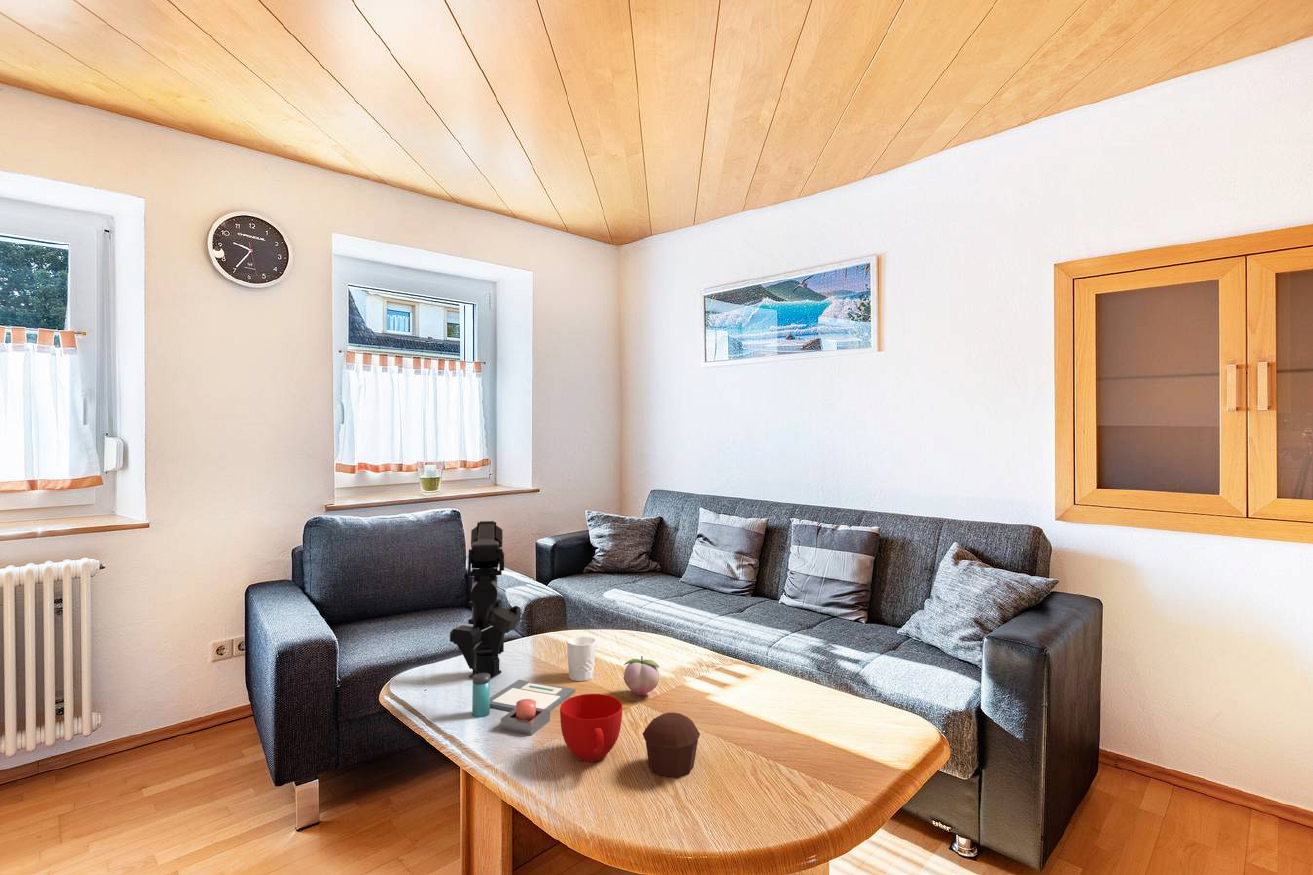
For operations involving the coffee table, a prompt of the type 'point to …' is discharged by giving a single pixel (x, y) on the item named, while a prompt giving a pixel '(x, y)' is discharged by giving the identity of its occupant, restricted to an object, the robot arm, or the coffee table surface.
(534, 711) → the button
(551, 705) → the drawing board
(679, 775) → the muffin
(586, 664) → the white cup
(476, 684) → the marker
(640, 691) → the decorative fruit
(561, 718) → the ceramic cup
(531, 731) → the button housing
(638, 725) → the coffee table surface
